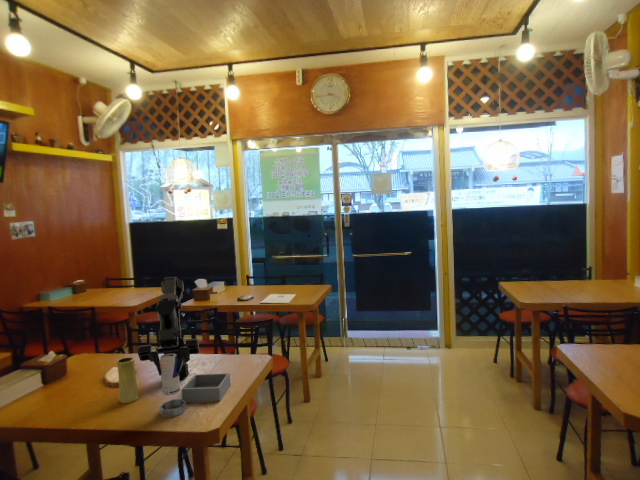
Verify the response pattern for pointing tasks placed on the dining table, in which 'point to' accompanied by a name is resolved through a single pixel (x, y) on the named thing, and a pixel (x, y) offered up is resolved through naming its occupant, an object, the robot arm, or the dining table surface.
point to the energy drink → (169, 374)
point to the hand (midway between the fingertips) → (169, 373)
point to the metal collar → (172, 412)
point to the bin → (206, 387)
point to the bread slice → (114, 377)
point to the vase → (127, 380)
